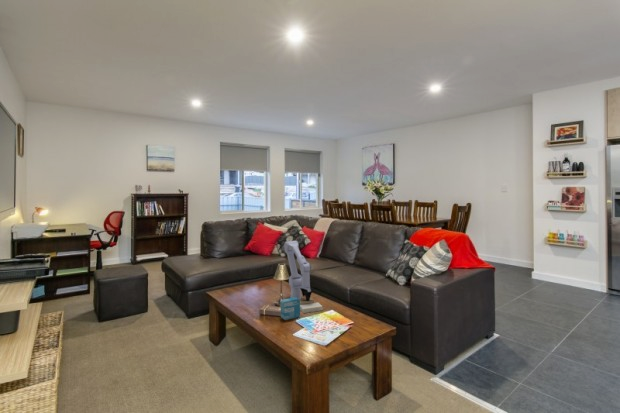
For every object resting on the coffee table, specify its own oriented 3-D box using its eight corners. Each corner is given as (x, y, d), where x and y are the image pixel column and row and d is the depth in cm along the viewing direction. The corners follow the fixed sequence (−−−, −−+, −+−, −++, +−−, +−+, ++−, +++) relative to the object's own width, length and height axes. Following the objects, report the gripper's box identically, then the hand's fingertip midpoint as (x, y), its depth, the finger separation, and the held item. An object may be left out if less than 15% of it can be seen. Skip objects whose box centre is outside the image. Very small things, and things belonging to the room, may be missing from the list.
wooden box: (298, 304, 228) (298, 299, 228) (311, 302, 232) (311, 297, 231) (300, 307, 223) (300, 301, 223) (314, 305, 226) (314, 299, 226)
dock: (299, 308, 219) (299, 304, 219) (318, 305, 224) (318, 302, 224) (303, 313, 211) (303, 309, 211) (323, 310, 216) (322, 306, 215)
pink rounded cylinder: (302, 299, 228) (302, 295, 228) (307, 298, 230) (307, 294, 230) (304, 301, 225) (304, 297, 224) (309, 300, 226) (309, 296, 226)
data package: (283, 320, 200) (282, 302, 199) (280, 318, 204) (280, 299, 203) (300, 316, 205) (300, 298, 205) (297, 314, 209) (297, 296, 209)
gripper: (297, 278, 232) (297, 296, 233) (303, 283, 218) (304, 302, 219) (306, 277, 234) (307, 295, 235) (313, 282, 221) (313, 301, 221)
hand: (306, 299), depth 227 cm, fingers open, 7 cm apart
